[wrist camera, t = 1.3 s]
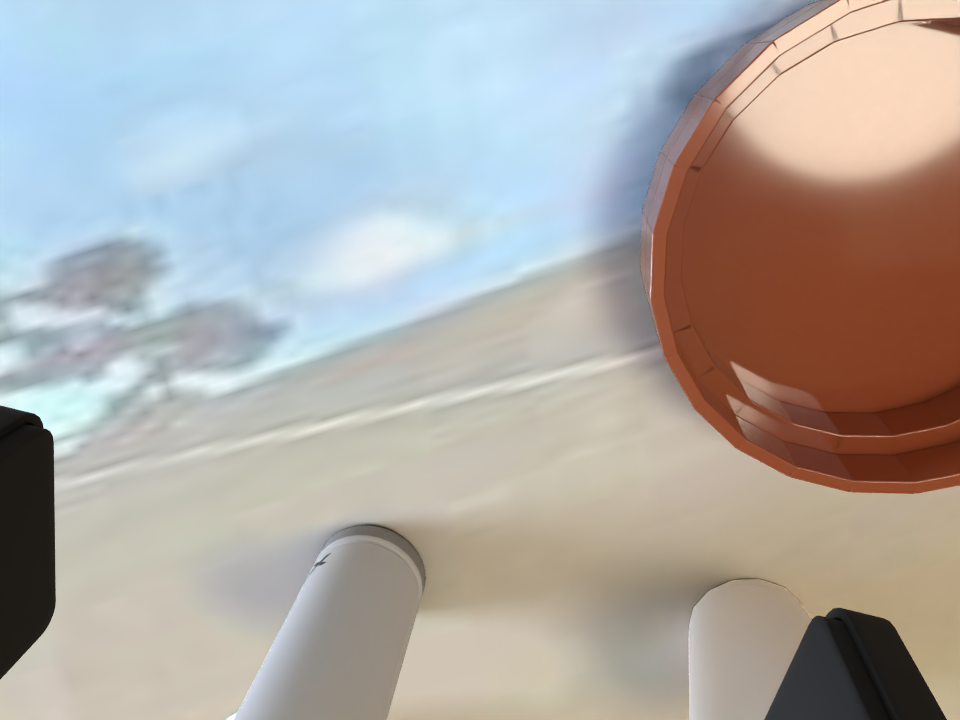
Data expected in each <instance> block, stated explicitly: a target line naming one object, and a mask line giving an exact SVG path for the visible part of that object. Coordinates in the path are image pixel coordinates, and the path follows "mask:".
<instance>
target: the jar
mask: <svg viewBox="0 0 960 720" xmlns="http://www.w3.org/2000/svg"><path fill="white" fill-rule="evenodd" d="M236 714H237V713H235V714H233V715H232V716H230V717H228V718H227V719H226V720H234V718H235V716H236Z"/></svg>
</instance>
